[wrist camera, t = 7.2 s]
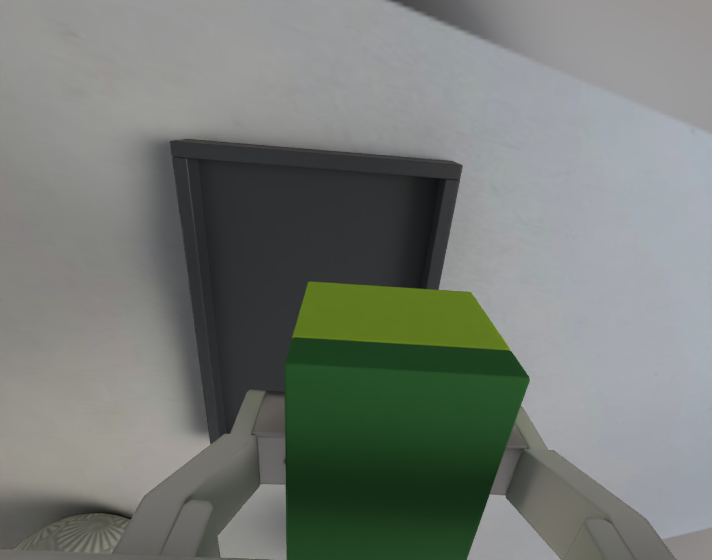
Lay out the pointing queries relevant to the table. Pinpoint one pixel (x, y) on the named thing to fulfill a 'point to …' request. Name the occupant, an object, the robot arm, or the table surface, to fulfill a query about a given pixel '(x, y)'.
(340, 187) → the tray
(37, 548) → the planter
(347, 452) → the sponge
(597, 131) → the table surface
